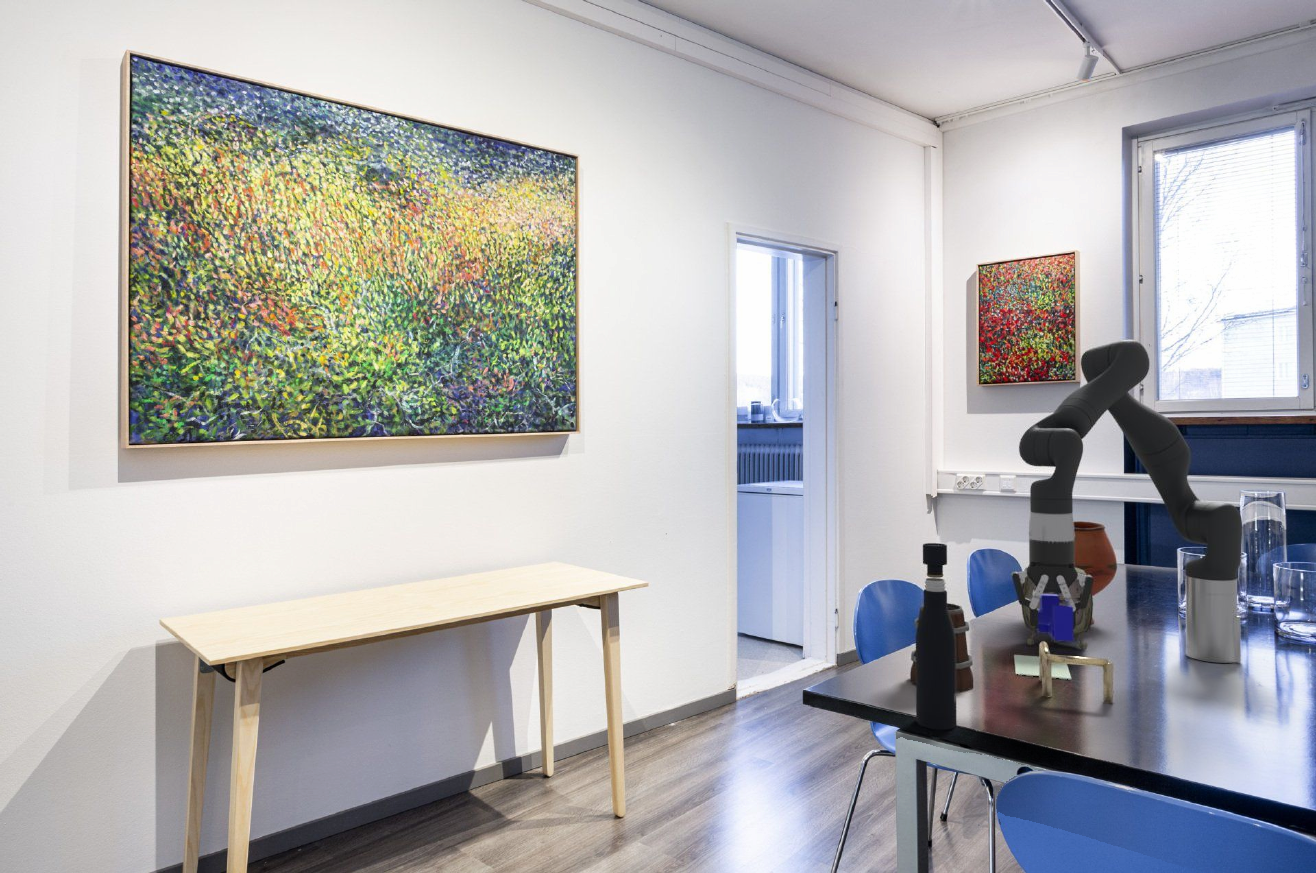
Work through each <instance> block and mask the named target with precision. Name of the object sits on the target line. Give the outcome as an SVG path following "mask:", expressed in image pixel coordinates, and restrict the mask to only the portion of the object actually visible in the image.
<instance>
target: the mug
mask: <svg viewBox="0 0 1316 873" xmlns="http://www.w3.org/2000/svg"><path fill="white" fill-rule="evenodd" d="M920 605H921V606H920V607H919V614H918V618H915V619H914V625H913V626H914V628H916V629H917V626H918V621H919V618H920V615H921V613H922V610H923V607H924V603H922V604H920ZM947 608H948V611H949V614H950V617H951V620H952V623H953V627H954V631H955V637H956V691H961V692H963V691H966V690H970V689H973V688H974V675H973V671H972V669H971V667H972V666H973V663H974V661H973V656H972V655H970V654H969V653H968V652H969V651H968V642H967V633H966V632H969V631H970V624H969V622H968V621H965V613H964V610H963V607H962V605H959V604H955V603H949V602H947ZM910 657H911V658H910V660H911V662H912V664H911V666H910V673H909V675H910V676H909V677H910V680H909V681H910V683H911V684H914V685H915V686H916V649H915V650H912V651H911V656H910Z"/></svg>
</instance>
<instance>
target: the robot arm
mask: <svg viewBox="0 0 1316 873" xmlns="http://www.w3.org/2000/svg"><path fill="white" fill-rule="evenodd" d="M1080 358H1081V359H1080V366H1081V371H1082V372H1081V373H1082V374H1083V377H1084V379H1085V380H1086V382H1087V383H1085V384H1084V385H1082V386H1080V387H1078V389H1076V390H1074V391H1073V392H1071V393H1070V394H1069V395H1068V396H1067V397H1066V398H1064V400H1063V401H1061V404H1059V406H1058V407H1057V408H1056V409H1055V410H1054V412H1053V413H1052V414H1049V415H1048V416H1045V417H1044V418H1042V419H1041V420H1039V421H1037V422H1036V423H1034V424H1033V425H1031V426H1029V428H1027V430H1026V431H1025V432H1024V433H1023V435H1022V436H1021V437H1020V441H1019V445H1018V451H1019V456H1020V457H1021V460H1023V462H1025V463H1026V464H1027V465H1028V466H1029V465H1030V466H1032V467H1048V468H1049V467H1051V468H1053V467H1054V472H1053V473H1052V475H1051V477H1049V478H1044V479H1043V478H1042V479H1039V480H1035V481H1034V482H1032V483H1031V485H1030V487H1029V488H1030V494H1029V496H1030V499H1029V501H1030V502H1029V503H1030V504H1029V505H1030V508H1029V510H1030V513H1029V515H1030V516H1029V522H1028V541H1029V543H1028V545H1029V546H1028V547H1029V548H1028V550H1029V551H1028V553H1029V554H1028V555H1029V556H1028V558H1029V560H1028V562H1029V563H1028V564H1029V565H1028V566H1027V567H1028V568H1027V567H1026V568H1027V570H1026V571H1024V570H1022V571H1021V570H1020V571H1012V572H1011V578H1012V581H1013V586H1014V589H1015V592H1016V596H1017V599H1018V603H1019V605H1024V606H1027V607H1028V608H1029V616H1030V625H1031V626H1034V629H1035V630H1038V608H1037V605H1038V602H1039V600H1040V598H1041V596H1042V593H1050V592H1054V593H1058V594H1063V597H1064V599H1065V602H1066V604H1067V606H1072V607H1073V629H1075V627H1076V611H1077V610H1079V609H1085V608H1086V607H1087V604H1088V600H1089V596H1090V593H1091V589H1092V585H1093V582H1094V579H1093V578H1092V576H1091V575H1083V574H1079V573H1077V571H1076V569H1075V563H1074V537H1075V532H1074V522H1075V521H1074V516H1073V515H1074V511H1073V509H1074V508H1073V505H1074V504H1073V492H1074V491H1073V490H1074V486H1075V482H1076V478H1077V474H1078V470H1079V467H1080V464H1081V461H1082V457H1083V453H1084V444H1083V439H1084V438H1085V437H1086V436H1087V435H1088V434H1089V433H1090V431H1091V430H1092V429H1093V427H1095V425H1096V424H1097V422H1098V420H1099V419H1100V418H1101V417H1102V416H1104V414H1105V413H1106V412H1107V411H1108V412H1109V413H1110V415H1111V416H1112V418H1113V419H1114V421H1115V422H1116V423H1117V425H1118V427H1119V429H1120V430H1121V432H1122V433H1123V435H1124V436H1125V438H1126V440H1127V441H1128V443H1129V445H1130V447H1131V449H1132V450H1133V452H1134V453H1135V456H1136V457H1137V459H1138V460H1139V462H1140V464H1141V465H1142V466H1143V468H1144V470H1145V471H1146V473H1147V474H1148V476H1149V478H1150V479H1151V481H1152V484H1153V485H1154V486H1155V488H1156V490H1157V492H1158V494H1159V495H1160V498H1161V500H1162V501H1163V503H1164V505H1165V508H1166V510H1167V512H1168V514H1169V516H1170V519H1171V522H1172V524H1173V525H1174V527H1175V529H1176V531H1177V532H1178V534H1179V536H1181V538H1182V539H1184V540H1185V541H1186V542H1190V543H1193V544H1199V545H1205V546H1206V551H1205V554H1204V555H1203V556H1202V557H1200V558H1197V559H1193V560H1192V559H1191V560H1190V561H1187V562H1186V563H1185V567H1184V569H1185V579H1184V580H1185V654H1186V656H1187V657H1189V658H1191V659H1194V660H1199V661H1203V662H1208V663H1209V662H1210V663H1218V664H1219V663H1220V664H1230V663H1231V664H1232V663H1241V662H1242V658H1241V656H1242V654H1241V652H1242V650H1241V647H1242V646H1241V638H1242V637H1241V636H1242V634H1241V633H1242V632H1241V627H1242V626H1241V617H1240V615H1238V571H1239V568H1240V566H1241V559H1242V544H1243V543H1242V541H1243V540H1242V539H1243V520H1242V516H1241V513H1240V511H1239V509H1238V508H1237V506H1235V505H1233V504H1231V503H1226V502H1218V501H1205V500H1201V499H1199V497H1197V495H1196V494H1195V493H1194V491H1193V489H1192V488H1191V486H1190V483H1189V480H1188V476H1189V471H1190V467H1191V466H1190V465H1191V459H1192V456H1191V451H1190V450H1191V449H1190V447H1189V446H1188V443H1187V441H1186V440H1185V439H1184V436H1183V435H1182V433H1181V430H1179V427H1178V426H1177V425H1176V424H1175V423H1174V422H1173V421H1172V420H1170V419H1169V418H1167V416H1165V415H1163V414H1162V413H1160V412H1158V411H1156V410H1155V409H1153V408H1151V407H1149V406H1148V405H1145V404H1143V403H1142V402H1141V401H1139V400H1137V399H1136V398H1135V397H1134V396H1133V395H1132V394H1131V393H1130V391H1131V390H1132V389H1133V388H1134V387H1136V386H1137V385H1139V384H1140V383H1141V382H1143V380H1144V379H1145V378H1146V377H1147V375H1148V374H1149V370H1150V362H1151V361H1150V357H1149V354H1148V351H1147V349H1146V347H1145V346H1144V345H1143V344H1142V343H1141V342H1139V341H1137V340H1136V339H1123V340H1122V339H1121V340H1118V341H1114V342H1111V343H1107V344H1103V345H1099V346H1096V347H1092V348H1089V349H1088V350H1086V351H1085V352H1083V353H1082V355H1081V357H1080ZM1027 576H1028V577H1029V578H1030V580H1031V581H1032V582H1033V583H1034V585H1035V588H1034V590H1033V594H1032V596H1031V599H1027V598H1025V595H1024V592H1023V588H1022V583H1024V582H1025V577H1027ZM1076 579H1078V580H1079V584H1080V585H1081V586H1082V590H1081V594H1080V597H1079V601H1076V602H1073V600H1072V597H1071V595H1070V592H1069V590H1068V588H1069V587H1070V586H1071V585H1072V583H1073V582H1074V581H1075V580H1076Z"/></svg>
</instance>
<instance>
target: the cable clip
mask: <svg viewBox="0 0 1316 873" xmlns="http://www.w3.org/2000/svg"><path fill="white" fill-rule="evenodd" d="M1033 627H1034V626H1033ZM1037 631H1038V632H1037V633H1044V632H1046V633H1045V634H1048V635H1049V636H1050V638H1053V639H1054V640H1055V641H1058V642H1060V641H1061V642H1074V634H1073V607H1072V606H1067V605H1059V596H1058V595H1057V594H1042V596H1041V598H1040V609H1038V630H1037Z"/></svg>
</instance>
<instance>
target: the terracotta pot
mask: <svg viewBox="0 0 1316 873" xmlns="http://www.w3.org/2000/svg"><path fill="white" fill-rule="evenodd" d="M1105 528H1106V527H1105V525H1104V524H1102V523H1096V522H1091V521H1083V520H1082V521H1074V532H1075V537H1074V563H1075V567H1076V568H1079V569H1081V570H1083V571H1084V572H1085V573H1086V575H1091V576H1092V578H1093V579H1094V582H1093V585H1092V597H1094V596H1095V595H1097V594H1099V593H1100V592H1102V591H1104V589H1105V588H1106V587H1107V586H1108V585H1109V584H1110V583H1111V582H1112V581H1113V580H1114V578H1115V575H1116V573H1117V570H1118V564H1117V563H1118V561H1117V556H1116V554H1115V550H1114V548H1113V545H1112V543H1111V541H1110V539H1109V537H1108V535H1107V532H1106V529H1105ZM1094 623H1095V619H1094V617H1092V621H1091V625H1092V624H1094Z"/></svg>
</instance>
